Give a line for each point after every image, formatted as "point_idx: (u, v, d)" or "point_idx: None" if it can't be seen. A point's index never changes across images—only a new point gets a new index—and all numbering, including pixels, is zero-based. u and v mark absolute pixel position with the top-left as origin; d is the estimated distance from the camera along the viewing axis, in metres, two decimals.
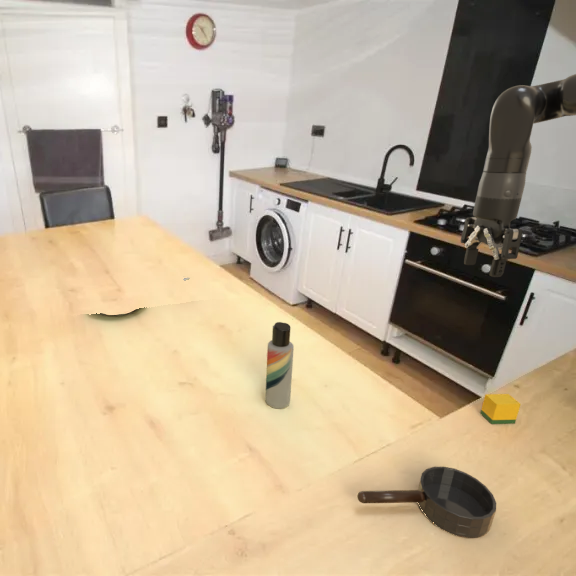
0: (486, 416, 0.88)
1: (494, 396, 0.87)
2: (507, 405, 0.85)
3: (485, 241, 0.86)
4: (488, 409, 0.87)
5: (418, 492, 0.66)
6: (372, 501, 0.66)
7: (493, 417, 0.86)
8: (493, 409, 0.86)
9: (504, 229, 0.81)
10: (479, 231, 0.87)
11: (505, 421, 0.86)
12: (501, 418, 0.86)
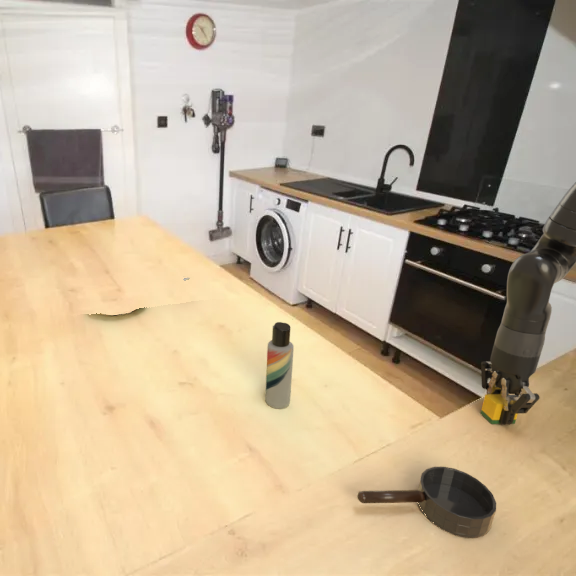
0: (486, 416, 0.88)
1: (494, 396, 0.87)
2: None
3: None
4: (488, 409, 0.87)
5: (418, 492, 0.66)
6: (372, 501, 0.66)
7: (493, 417, 0.86)
8: (493, 409, 0.86)
9: (522, 387, 0.81)
10: (497, 376, 0.86)
11: None
12: None
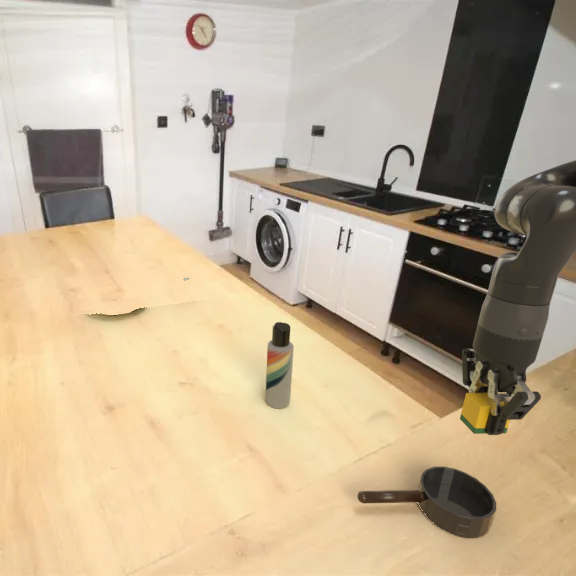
0: (467, 423, 0.64)
1: (477, 396, 0.64)
2: None
3: None
4: (470, 413, 0.64)
5: (418, 492, 0.66)
6: (372, 501, 0.66)
7: (476, 424, 0.62)
8: (476, 414, 0.62)
9: (517, 383, 0.57)
10: (482, 368, 0.62)
11: None
12: None
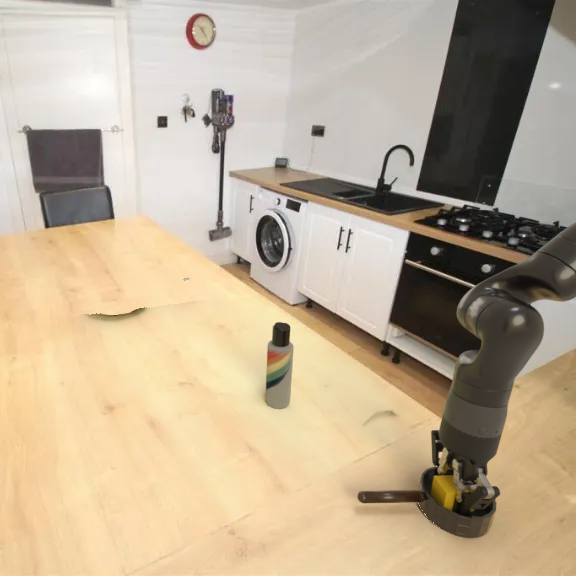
0: None
1: (444, 479, 0.66)
2: None
3: None
4: (437, 496, 0.66)
5: (418, 492, 0.66)
6: (372, 501, 0.66)
7: None
8: (443, 499, 0.65)
9: (478, 476, 0.59)
10: (448, 455, 0.64)
11: None
12: None
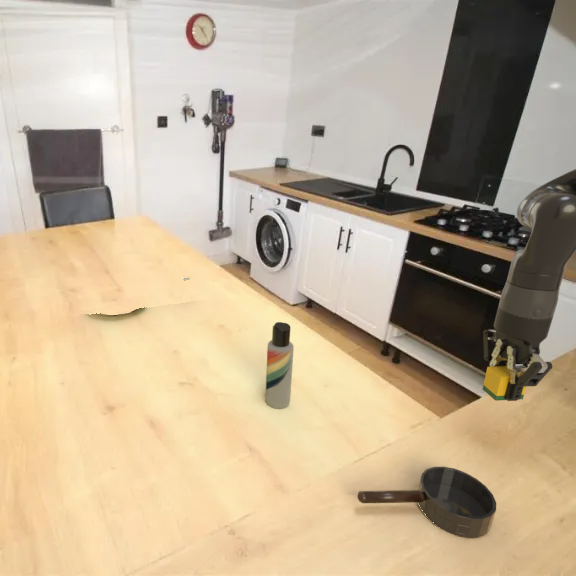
0: (489, 392, 0.76)
1: (497, 368, 0.76)
2: None
3: None
4: (491, 384, 0.76)
5: (418, 492, 0.66)
6: (372, 501, 0.66)
7: (497, 392, 0.74)
8: (497, 383, 0.74)
9: (532, 355, 0.69)
10: (502, 345, 0.74)
11: None
12: None
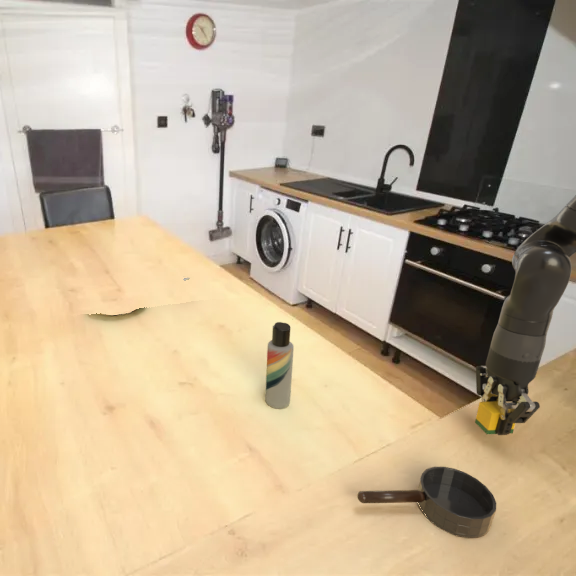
0: (481, 426, 0.81)
1: (489, 404, 0.80)
2: None
3: None
4: (483, 418, 0.80)
5: (418, 492, 0.66)
6: (372, 501, 0.66)
7: (488, 427, 0.79)
8: (488, 419, 0.79)
9: (521, 395, 0.73)
10: (493, 382, 0.78)
11: None
12: None
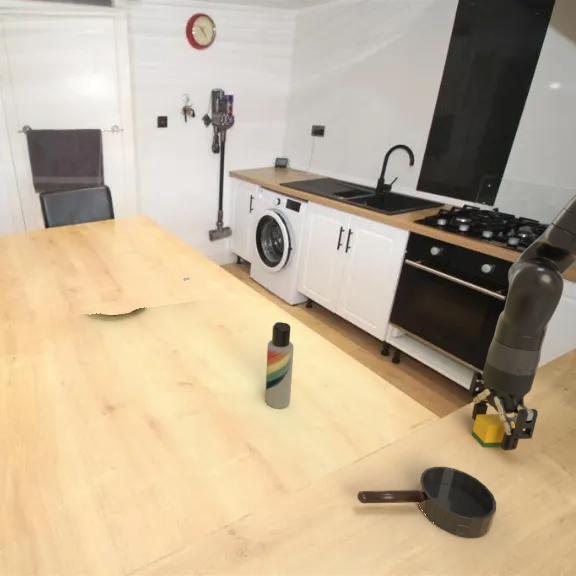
0: (478, 438, 0.82)
1: (486, 417, 0.81)
2: (500, 427, 0.79)
3: (496, 408, 0.79)
4: (480, 431, 0.81)
5: (418, 492, 0.66)
6: (372, 501, 0.66)
7: (485, 440, 0.80)
8: (485, 431, 0.80)
9: (517, 405, 0.74)
10: (489, 395, 0.80)
11: (498, 444, 0.80)
12: (494, 441, 0.80)
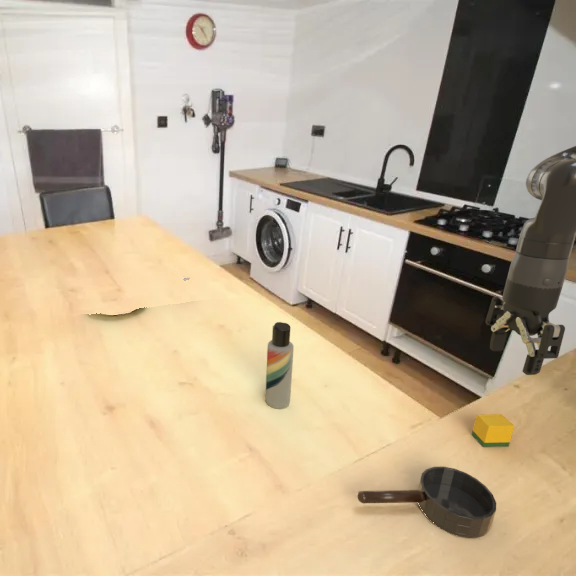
0: (478, 438, 0.82)
1: (486, 417, 0.81)
2: (500, 427, 0.79)
3: (517, 331, 0.73)
4: (480, 431, 0.81)
5: (418, 492, 0.66)
6: (372, 501, 0.66)
7: (485, 440, 0.80)
8: (485, 431, 0.80)
9: (542, 322, 0.69)
10: (509, 318, 0.74)
11: (498, 444, 0.80)
12: (494, 441, 0.80)
